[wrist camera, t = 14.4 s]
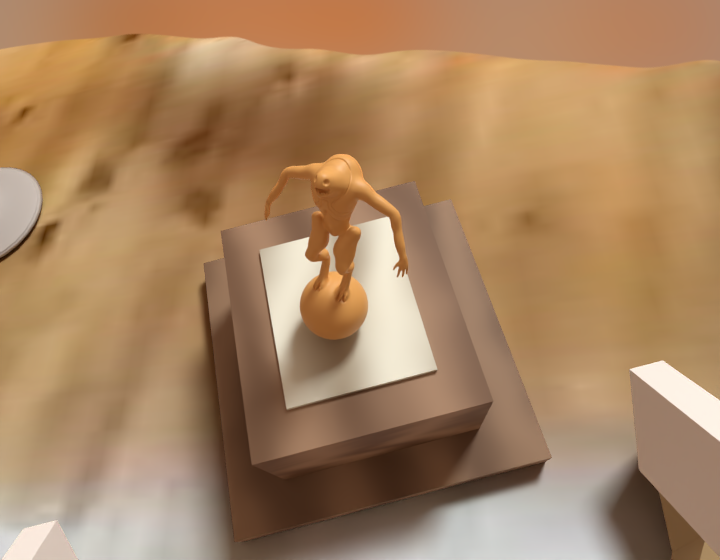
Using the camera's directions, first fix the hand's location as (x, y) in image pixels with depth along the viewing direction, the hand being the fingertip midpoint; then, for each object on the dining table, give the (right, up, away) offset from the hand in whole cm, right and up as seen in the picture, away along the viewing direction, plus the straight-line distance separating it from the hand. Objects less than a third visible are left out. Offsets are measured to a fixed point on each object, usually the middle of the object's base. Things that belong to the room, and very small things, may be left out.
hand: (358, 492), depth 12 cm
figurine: (-1, +3, +21) cm, 21 cm away
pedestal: (0, -1, +30) cm, 30 cm away
